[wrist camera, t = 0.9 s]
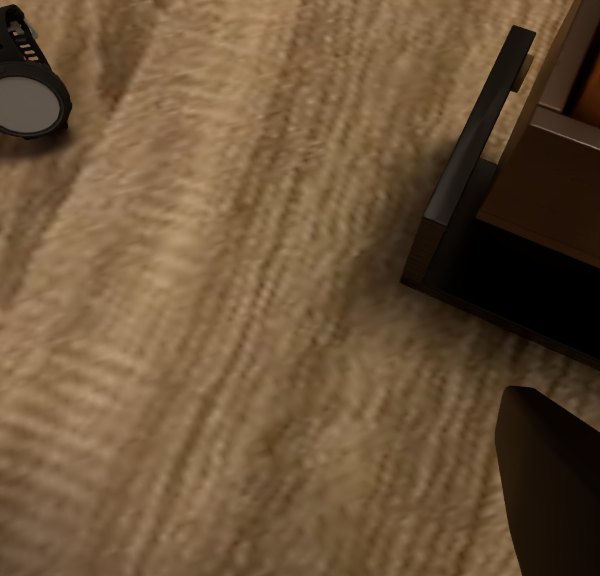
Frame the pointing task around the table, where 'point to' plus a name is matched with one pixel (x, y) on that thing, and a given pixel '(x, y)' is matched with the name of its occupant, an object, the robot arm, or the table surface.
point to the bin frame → (501, 241)
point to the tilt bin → (553, 155)
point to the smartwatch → (28, 83)
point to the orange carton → (586, 88)
